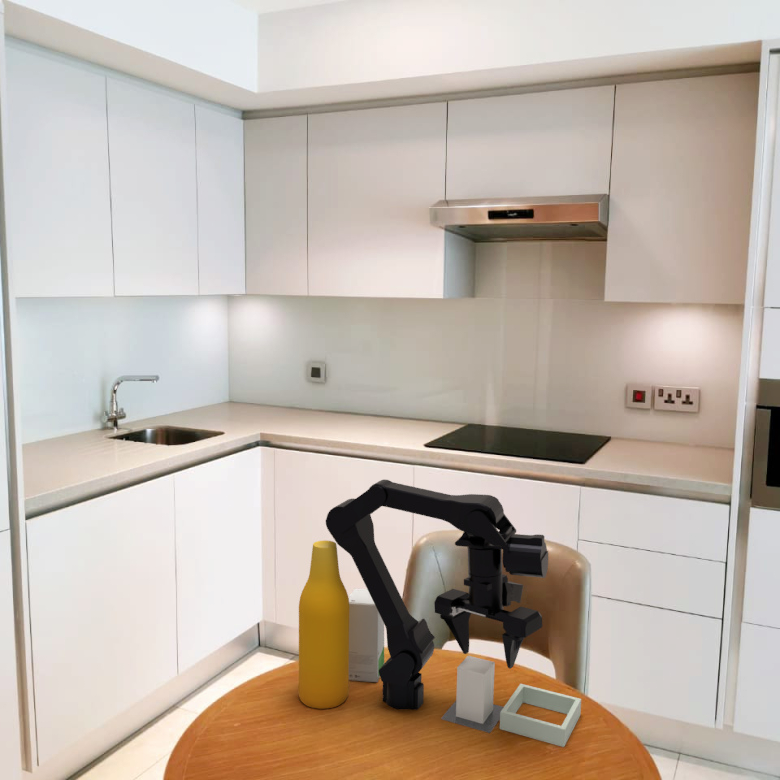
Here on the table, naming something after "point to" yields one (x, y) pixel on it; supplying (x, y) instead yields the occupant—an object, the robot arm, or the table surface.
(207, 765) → the table surface
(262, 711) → the table surface
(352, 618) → the skincare box
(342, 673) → the beer bottle
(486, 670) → the grey tall block
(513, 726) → the bin
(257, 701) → the table surface
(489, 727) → the stud plate
